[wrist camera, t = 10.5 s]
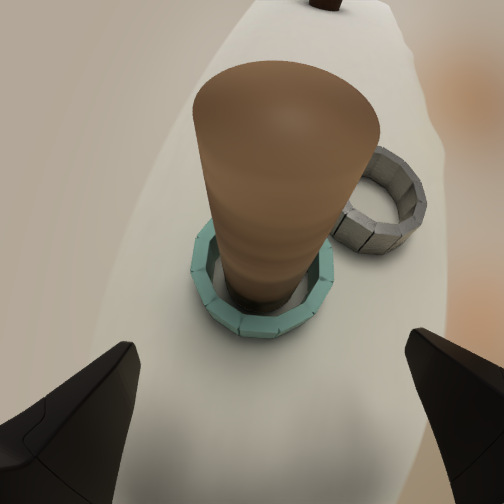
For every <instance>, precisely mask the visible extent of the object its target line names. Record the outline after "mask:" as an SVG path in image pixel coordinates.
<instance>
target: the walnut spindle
mask: <svg viewBox="0 0 504 504" xmlns="http://www.w3.org/2000/svg"><path fill="white" fill-rule="evenodd" d="M193 120H194V125H195V131H196V137H197V142H198V148H199V153H200V159H201V164H202V169H203V175H204V180H205V185H206V190H207V195H208V200H209V205H210V210H211V215H212V220H213V225H214V229H215V234H216V239H217V244H218V248H219V253H220V257H221V262H222V267H223V271H224V276H225V280H226V284H227V288H228V291H229V293H230V295H231V297H232V298H233V299H234V300H235V301H236V302H237V303H238V304H239V305H240V306H242V307H243V308H245V309H247V310H250V311H254V312H269V311H273V310H275V309H278V308H279V307H281V306H283V305H284V304H285V303H286V302H287V301H288V300H289V299H290V297H291V296H292V294H293V293H294V291H295V289H296V288H297V286H298V285H299V283H300V281H301V280H302V278H303V277H304V275H305V273H306V272H307V270H308V268H309V267H310V265H311V263H312V262H313V260H314V259H315V257H316V255H317V253H318V252H319V250H320V248H321V247H322V245H323V243H324V242H325V240H326V238H327V237H328V235H329V233H330V231H331V230H332V228H333V226H334V224H335V223H336V221H337V219H338V217H339V216H340V214H341V212H342V210H343V209H344V207H345V205H346V203H347V201H348V200H349V198H350V196H351V194H352V192H353V191H354V189H355V187H356V185H357V183H358V181H359V179H360V178H361V176H362V174H363V172H364V170H365V168H366V166H367V164H368V162H369V161H370V159H371V157H372V155H373V153H374V151H375V149H376V147H377V144H378V142H379V137H380V125H379V121H378V117H377V115H376V113H375V111H374V109H373V107H372V106H371V104H370V103H369V102H368V100H367V99H366V98H365V97H364V96H363V95H362V94H361V93H360V92H359V91H358V90H357V89H356V88H354V87H353V86H352V85H350V84H349V83H348V82H346V81H344V80H343V79H341V78H339V77H338V76H336V75H334V74H332V73H329V72H327V71H325V70H322V69H319V68H316V67H313V66H309V65H306V64H301V63H296V62H288V61H258V62H251V63H246V64H242V65H238V66H235V67H232V68H229V69H227V70H225V71H223V72H221V73H219V74H217V75H216V76H214V77H213V78H211V79H210V80H209V81H207V82H206V83H205V84H204V85H203V86H202V88H201V89H200V90H199V92H198V93H197V95H196V98H195V100H194V104H193Z"/></svg>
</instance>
